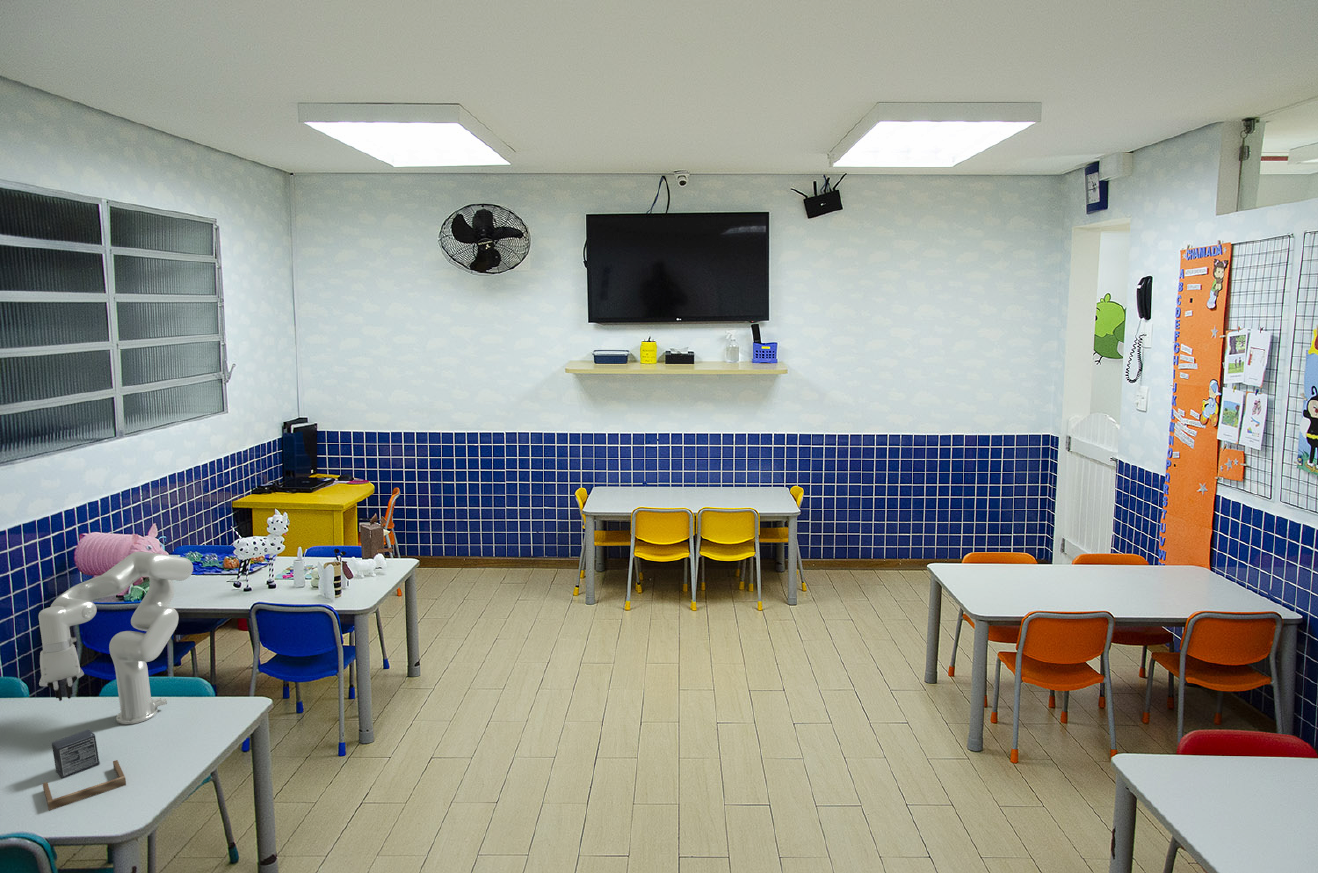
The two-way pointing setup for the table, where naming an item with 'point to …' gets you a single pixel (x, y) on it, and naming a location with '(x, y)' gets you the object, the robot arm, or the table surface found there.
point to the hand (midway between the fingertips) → (64, 698)
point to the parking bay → (85, 790)
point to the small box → (75, 753)
